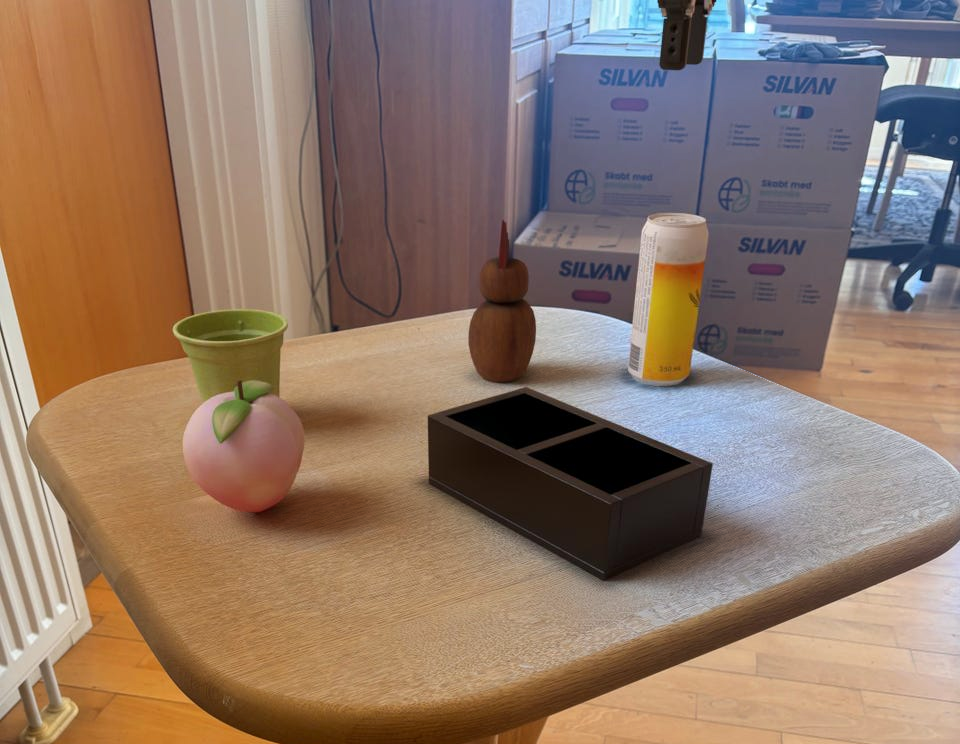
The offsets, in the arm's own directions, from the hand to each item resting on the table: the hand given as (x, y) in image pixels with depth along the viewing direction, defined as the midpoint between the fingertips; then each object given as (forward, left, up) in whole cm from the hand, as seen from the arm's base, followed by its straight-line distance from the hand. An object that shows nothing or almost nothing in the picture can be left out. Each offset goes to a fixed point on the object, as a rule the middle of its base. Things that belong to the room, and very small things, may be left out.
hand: (681, 66), depth 87 cm
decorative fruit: (+50, +5, -27) cm, 57 cm away
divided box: (+32, +19, -27) cm, 46 cm away
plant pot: (+42, -11, -27) cm, 51 cm away
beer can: (+4, +4, -27) cm, 27 cm away
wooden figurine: (+16, -6, -27) cm, 31 cm away
